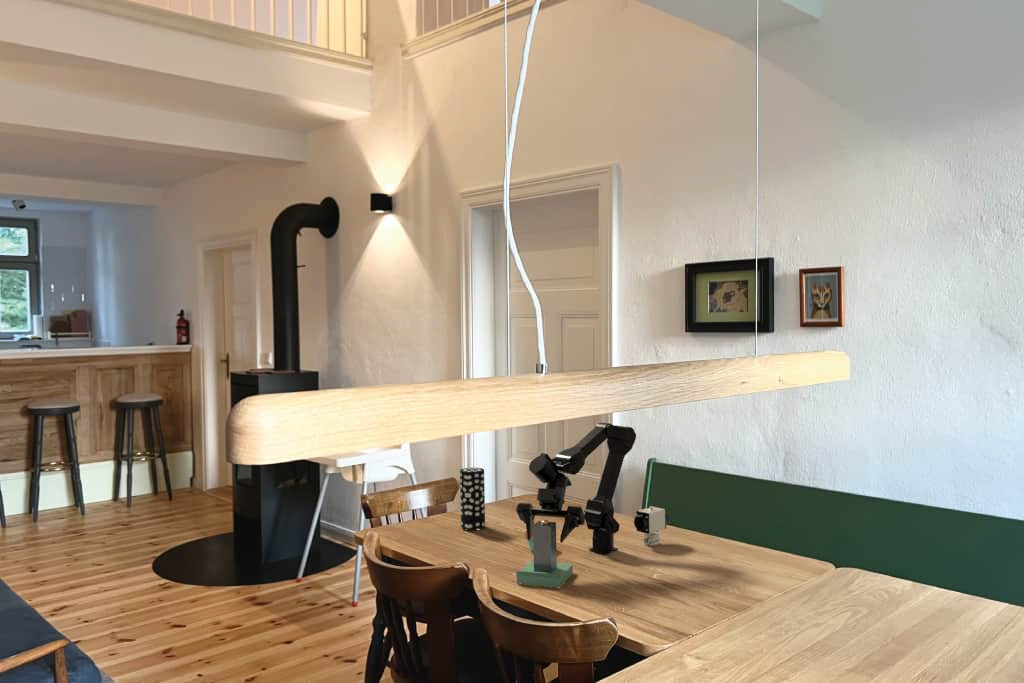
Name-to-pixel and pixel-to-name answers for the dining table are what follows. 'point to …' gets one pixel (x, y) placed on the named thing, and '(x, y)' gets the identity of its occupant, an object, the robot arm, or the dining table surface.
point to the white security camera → (651, 523)
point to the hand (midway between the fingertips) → (544, 540)
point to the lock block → (544, 546)
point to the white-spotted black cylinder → (472, 498)
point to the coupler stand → (544, 575)
